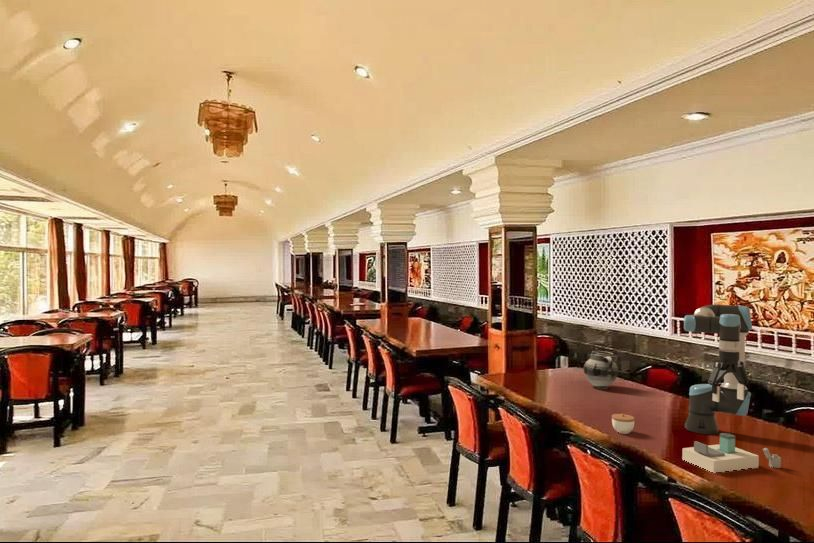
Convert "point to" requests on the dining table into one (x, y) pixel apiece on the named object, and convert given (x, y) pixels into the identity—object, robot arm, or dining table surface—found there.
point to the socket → (721, 459)
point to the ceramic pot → (601, 369)
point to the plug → (727, 443)
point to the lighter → (772, 459)
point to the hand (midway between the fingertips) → (728, 400)
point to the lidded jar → (623, 423)
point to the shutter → (706, 450)
